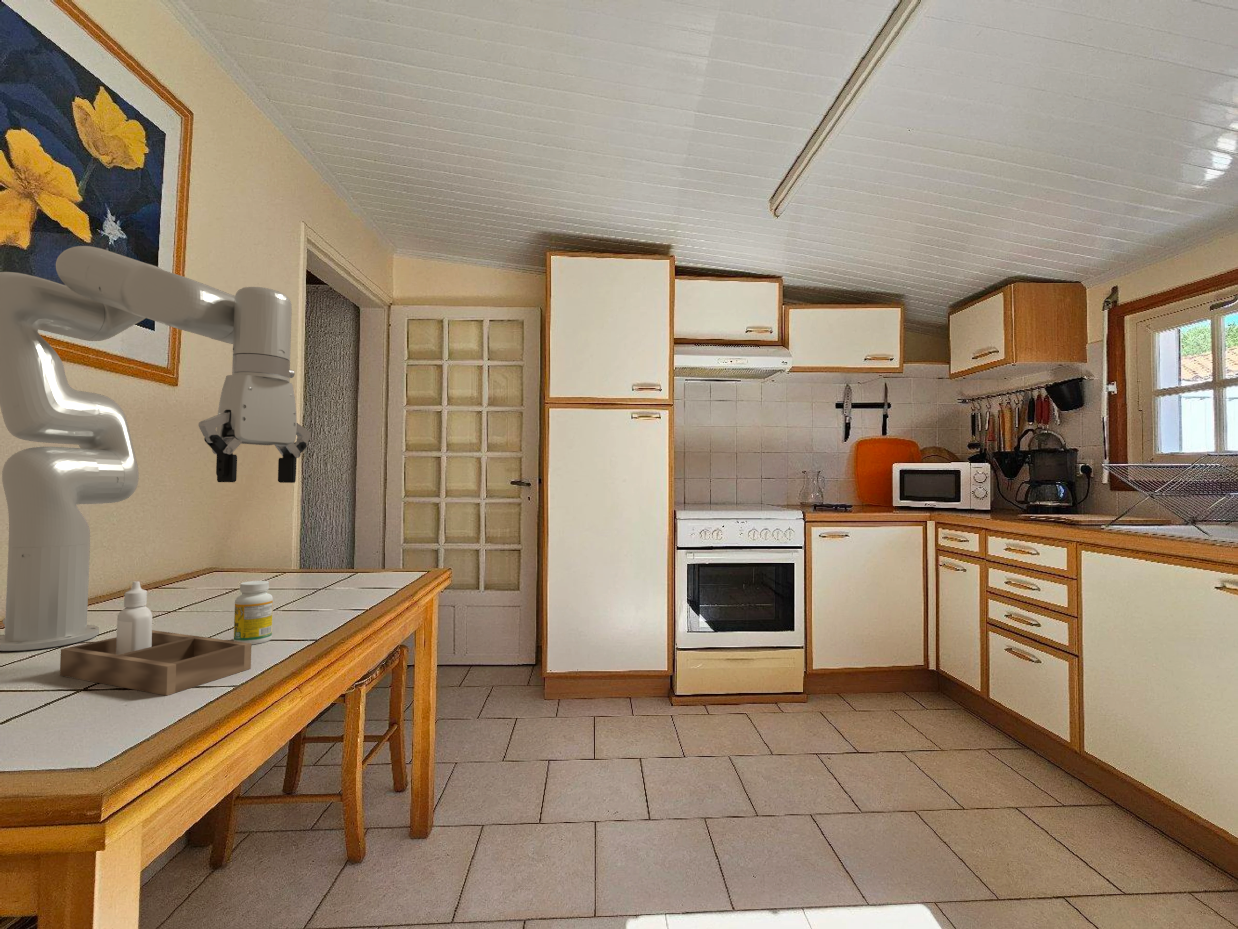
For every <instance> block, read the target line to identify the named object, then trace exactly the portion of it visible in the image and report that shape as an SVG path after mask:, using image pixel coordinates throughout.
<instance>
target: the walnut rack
mask: <svg viewBox="0 0 1238 929" xmlns="http://www.w3.org/2000/svg"><path fill="white" fill-rule="evenodd" d="M116 638H117V636H116V637H112V638H108V639H107V638H106V639H102V640H98V641H93V642H88V643H87V642H86V643H84V644H80V645H73V646H70V647H65V648H64V647H63V648H61V649H60V660H59V662H60V663H59V676H61V677H65V678H71V679H76V680H82V681H87V682H93V683H98V684H104V685H109V686H112V687H113V686H114V687H119V688H125V689H130V690H135V691H139V692H140V691H142V692H146V693H150V694H156V695H161V696H169V695H172V694H175V693H179V692H182V691H185V690H188V689H191V688H195V687H197V686H201V685H204V684H207V683H211V682H214V681H217V680H219V679H223V678H226V677H229V676H233V675H236V674H239V673H242V672H245V671H248V670H251V668H252V645H251V643H245V642H237V641H234V640H228V639H221V638H213V637H206V636H200V635H199V636H198V635H192V634H186V633H185V634H184V633H177V632H169V631H168V632H167V631H160V630H154V629H152V647H149V648H145V649H141V650H136V651H132V652H128V653H124V654H120V655H116Z"/></svg>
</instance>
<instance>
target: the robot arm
mask: <svg viewBox="0 0 1238 929" xmlns="http://www.w3.org/2000/svg"><path fill="white" fill-rule="evenodd" d="M55 270H56V273H57V276H58V278H60V279H59V280H61V282H62V283H58V282H56V281H52V280H49V279H47V278H43V277H39V276H35V275H30V274H25V273H21V272H14V271H13V272H12V271H0V411H1V415H2V418H3V422H4V425H5V427H6V430H7V431H8V432H9V433H10V435H12V436H13V437H15V438H18V440H23V441H28V442H33V443H34V442H37V443H46V444H47V443H48V444H63V445H75V446H78V447H64V446H63V447H62V446H36V447H35V446H34V447H29V448H25V449H21V450H19V451H17V452H15V453H13V454H11V456H9V458H8V459H7V460H6V461H5V462H4V465H3V467H2V471H1V481H2V487H3V491H4V495H5V498H6V499H5V501H6V504H7V505H6V506H7V513H8V541H7V542H8V543H7V544H8V545H7V546H8V549H7V550H8V551H7V552H8V553H7V574H6V596H5V597H6V598H5V614H4V615H5V616H4V618H3V620H2V624H3V625H4V634H1V635H0V651H1V652H18V651H19V652H21V651H33V650H40V649H48V648H55V647H56V648H57V647H60V646H67V645H71V644H76V643H80V642H84V641H86V640H87V641H88V640H90V639H93V638H96V637H97V636H98V635H99V634H100V628H99V627H98V626H97V625H94V624H93V625H92V624H88V610H89V609H88V607H89V606H88V603H89V602H88V601H89V581H90V579H89V578H90V558H91V557H90V553H91V552H90V549H91V530H90V526H89V524H88V521H87V520H86V518H85V517H84V514H82V511H80V509H79V508H78V506H77V505H96V504H98V505H99V504H101V505H102V504H113V503H119V502H122V501H126V500H127V499H129V498H131V496H133V494H134V493H135V492H136V490H137V488H138V485H139V480H140V477H139V474H140V473H139V466H138V462H137V457H136V453H135V448H134V444H133V441H132V436H131V432H130V428H129V422H128V420H127V417H126V414H125V412H124V411H123V408H122V407H121V405H119V404H118V402H116V401H115V400H114V399H112V398H111V397H109V396H106V395H103V394H100V393H95V392H89V391H84V390H83V391H82V390H77V389H74V388H73V387H71V385H70V383H69V382H68V380H67V379H68V378H67V376H66V371H65V366H64V364H63V361H62V359H61V357H60V355H58V352H56V350H55V349H54V348H53V346H51V344H50V343H49V342H47V340H45V339H44V338H43V337H42V335H40V333H39V332H38V331H39V330H40V331H43V332H47V333H50V334H55V335H60V336H65V337H68V338H73V339H78V340H81V341H87V342H101V341H106V340H108V339H111V338H114V337H115V336H117V335H119V334H121V333H122V332H124V331H126V330H128V329H129V328H131V327H133V326H135V325H136V324H138V323H140V322H142V321H145V319H148V320H152V321H154V322H156V323H160V324H162V325H166V326H168V327H171V328H173V329H174V328H175V329H177V330H181V331H185V332H188V333H192V334H194V335H195V334H196V335H199V336H203V337H206V338H209V339H212V340H215V341H219V342H222V343H225V344H230V345H232V362H231V364H232V365H231V366H232V367H231V368H232V369H231V374H228V375H226V376H225V379H224V383H223V385H222V388H221V393H220V397H219V403H218V410H217V415H214V416H212V417H209V418H207V419H203V420H201V421H199V422H198V428H199V430H200V432H201V434H202V436H203V437H204V438H203V439H204V442H205V443H206V444H207V445H208V447H209V448H211V451H212V453H213V455H216V465H215V466H216V467H215V469H216V470H215V474H216V481H217V482H218V483H235V482H236V481H237V477H238V476H237V474H238V473H237V472H238V456H237V454H235V453H234V452H235V451H236V450H237V449H238V447H240V445H241V444H242V445H255V446H275V448H276V449H277V451H278V452H279V453H280V455H281V457H278V460H277V461H278V465H277V468H278V470H277V481H278V483H281V484H282V483H283V484H284V483H285V484H286V483H287V484H295V482H296V479H297V477H296V476H297V459H299V458H300V457H301V454H302V453H303V452H304V451H305V450H306V449H307V444H308V443H309V440H310V438H311V436H312V433H311V431H309V430H308V429H306V428H305V427H303V426H302V425H300V424H299V423H298V421H297V417H298V416H297V406H296V405H297V403H296V396H295V390H294V385H293V382H290V379H293V378H294V377H295V371H294V370H293V369H291V341H292V312H293V311H292V310H293V309H292V306H293V305H292V302H291V299H290V298H289V297H288V296H287V295H286V294H285V293H283V292H281V291H278V290H276V289H272V288H269V287H268V288H267V287H264V286H263V287H261V286H245V287H242V288H240V289H238V290H237V292H236V293H235V294H231V293H227V292H226V291H223V290H220V289H219V288H215V287H214V286H213V287H212V286H210V285H208V284H206V283H202V282H200V281H197V280H195V279H191V278H189V277H186V276H183V275H180V274H177V273H173V272H170V271H168V270H164V269H162V268H160V267H158V266H157V265H153V264H151V263H146V262H143V261H140V260H138V259H134V258H131V257H128V256H125V255H122V254H118V253H116V252H114V251H109V250H107V249H104V248H101V247H95V246H90V245H78V246H71V247H70V248H67V249H65V250H63V251H62V252H61V253H60V254H59V255H58V256H57V258H56V260H55ZM296 437H297V438H296ZM233 453H234V454H233Z"/></svg>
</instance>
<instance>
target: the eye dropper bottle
mask: <svg viewBox="0 0 1238 929" xmlns="http://www.w3.org/2000/svg"><path fill="white" fill-rule="evenodd" d="M123 596H124V599H123V600H124V601H123V603H124V604H123V607H124V608H123V609H122V610H120V611H119V612H118V614H117V621H116V637H117V638H116V655H120V654H124V653H128V652H132V651H136V650H141V649H145V648H149V647H152V630H153V613H152V610H151V609H150V608H149V607H148V606H146V605H147V602H148V600H147V599H148V597H147V596H148V591H147V590H146V589H143V588H142V587H141V583H140V581H138V580H137V581H132V584H131V588H130V589H129V590H127V591H126V592H124V595H123Z"/></svg>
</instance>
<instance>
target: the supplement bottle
mask: <svg viewBox="0 0 1238 929" xmlns="http://www.w3.org/2000/svg"><path fill="white" fill-rule="evenodd" d="M269 589H270V584H269V581H268V580H251V581H243V582H240V586H239V591H240V593H241V594H240V595H239V596H237V597H236V598H235V601H234V616H233V617H234V619H233V620H234V621H233V622H234V624H233V641H237V642H245V643H251V646H252V645H253V646H254V645H259V644H263V643H267V642H269V641H270V640H272V638H273V617H274V616H273V611H274V597H273V595H272V594H271V593H268V591H269Z"/></svg>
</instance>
